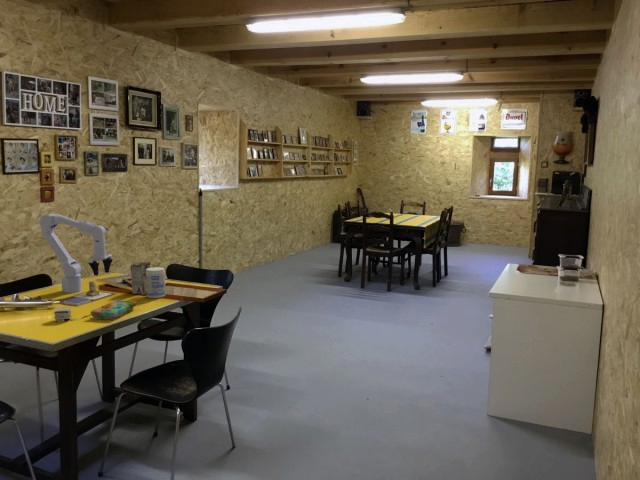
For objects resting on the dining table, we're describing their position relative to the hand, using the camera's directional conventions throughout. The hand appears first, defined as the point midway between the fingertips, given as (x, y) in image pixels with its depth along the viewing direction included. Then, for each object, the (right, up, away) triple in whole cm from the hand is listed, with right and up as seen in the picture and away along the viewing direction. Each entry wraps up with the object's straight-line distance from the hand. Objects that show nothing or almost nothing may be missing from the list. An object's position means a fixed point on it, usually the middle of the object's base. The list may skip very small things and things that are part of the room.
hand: (101, 273), depth 288 cm
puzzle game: (+21, -17, -37) cm, 46 cm away
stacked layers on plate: (+2, -18, -47) cm, 51 cm away
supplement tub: (+30, -12, -5) cm, 33 cm away
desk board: (-3, -12, -13) cm, 18 cm away
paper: (-1, -11, -8) cm, 13 cm away
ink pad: (-3, -13, -22) cm, 26 cm away
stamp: (-1, -11, -8) cm, 13 cm away
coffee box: (+21, -11, +1) cm, 24 cm away
